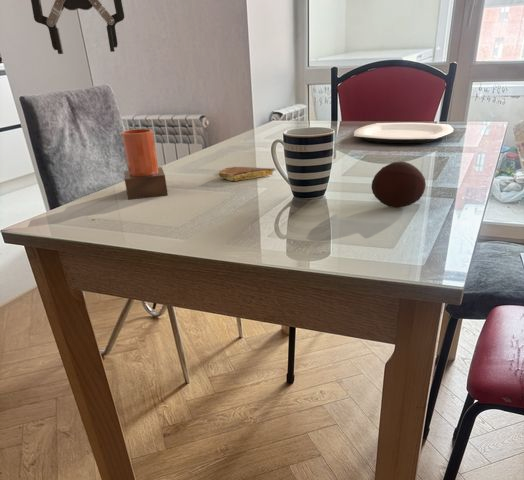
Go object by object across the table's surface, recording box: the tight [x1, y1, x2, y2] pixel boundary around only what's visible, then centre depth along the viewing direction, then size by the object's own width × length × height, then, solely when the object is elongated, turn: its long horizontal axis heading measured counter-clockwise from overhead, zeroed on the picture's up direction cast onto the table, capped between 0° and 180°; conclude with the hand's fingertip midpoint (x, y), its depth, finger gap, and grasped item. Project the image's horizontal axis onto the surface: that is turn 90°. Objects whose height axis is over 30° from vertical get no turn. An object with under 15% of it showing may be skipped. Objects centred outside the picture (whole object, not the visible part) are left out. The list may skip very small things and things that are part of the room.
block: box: [123, 166, 169, 200], centre depth 106 cm, size 8×8×4 cm
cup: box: [121, 128, 159, 176], centre depth 103 cm, size 6×6×8 cm
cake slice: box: [218, 166, 275, 182], centre depth 113 cm, size 11×8×2 cm
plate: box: [353, 122, 454, 144], centre depth 144 cm, size 27×27×2 cm
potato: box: [371, 161, 427, 209], centre depth 87 cm, size 8×9×8 cm
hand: (86, 52), depth 86 cm, fingers open, 8 cm apart
